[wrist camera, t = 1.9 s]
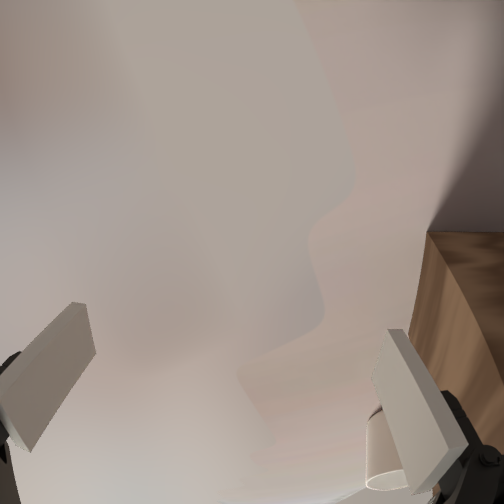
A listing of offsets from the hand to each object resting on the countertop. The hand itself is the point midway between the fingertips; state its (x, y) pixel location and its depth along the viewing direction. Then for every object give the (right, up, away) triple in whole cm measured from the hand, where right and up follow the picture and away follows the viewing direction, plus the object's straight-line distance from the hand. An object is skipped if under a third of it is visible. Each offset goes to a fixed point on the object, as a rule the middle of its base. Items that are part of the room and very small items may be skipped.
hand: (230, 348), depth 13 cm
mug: (+23, -21, +25) cm, 40 cm away
